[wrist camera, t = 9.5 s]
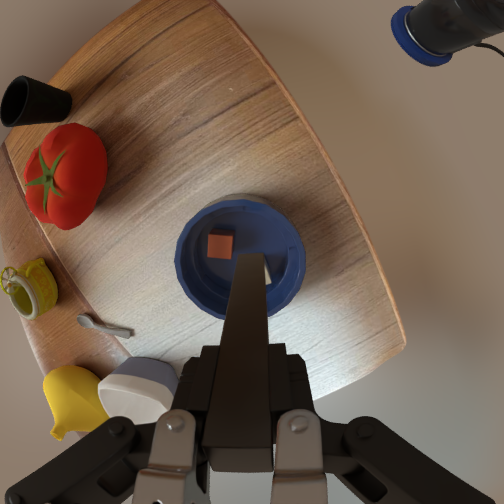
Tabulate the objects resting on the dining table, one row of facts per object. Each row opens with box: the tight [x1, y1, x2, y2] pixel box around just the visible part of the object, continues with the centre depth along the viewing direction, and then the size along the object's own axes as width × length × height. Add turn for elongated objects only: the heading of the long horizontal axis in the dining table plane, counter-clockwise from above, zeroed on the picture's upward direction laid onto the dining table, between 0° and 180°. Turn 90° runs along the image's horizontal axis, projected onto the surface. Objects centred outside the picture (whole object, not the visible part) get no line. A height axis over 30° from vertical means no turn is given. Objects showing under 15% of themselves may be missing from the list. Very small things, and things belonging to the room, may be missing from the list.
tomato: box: [24, 123, 108, 230], centre depth 31 cm, size 14×16×10 cm
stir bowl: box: [174, 194, 306, 320], centre depth 37 cm, size 17×17×6 cm
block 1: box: [208, 228, 235, 259], centre depth 37 cm, size 3×3×3 cm
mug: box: [0, 258, 58, 320], centre depth 37 cm, size 13×11×12 cm
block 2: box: [264, 256, 272, 285], centre depth 38 cm, size 3×3×3 cm
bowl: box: [98, 358, 179, 425], centre depth 44 cm, size 15×15×11 cm
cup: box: [0, 75, 72, 127], centre depth 26 cm, size 8×8×12 cm
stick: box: [201, 253, 274, 473], centre depth 14 cm, size 2×2×16 cm
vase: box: [43, 365, 110, 441], centre depth 43 cm, size 18×18×19 cm
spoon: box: [77, 314, 131, 339], centre depth 45 cm, size 3×12×2 cm, turn 78°
